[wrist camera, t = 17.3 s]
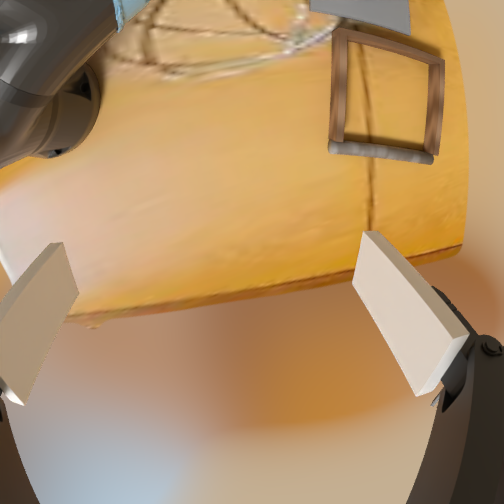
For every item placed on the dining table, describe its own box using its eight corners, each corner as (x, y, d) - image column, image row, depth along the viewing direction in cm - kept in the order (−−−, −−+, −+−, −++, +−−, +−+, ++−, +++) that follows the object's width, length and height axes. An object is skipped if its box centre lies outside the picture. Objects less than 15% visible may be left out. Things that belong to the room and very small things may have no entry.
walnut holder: (425, 163, 40) (436, 167, 37) (327, 152, 38) (335, 156, 35) (433, 60, 31) (444, 60, 28) (331, 31, 29) (339, 27, 27)
